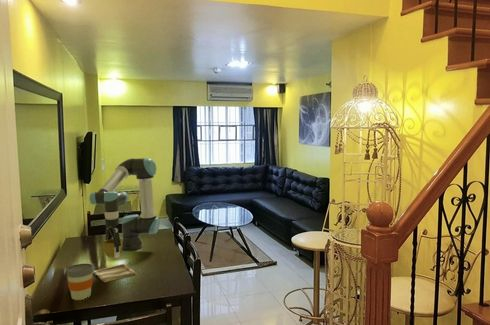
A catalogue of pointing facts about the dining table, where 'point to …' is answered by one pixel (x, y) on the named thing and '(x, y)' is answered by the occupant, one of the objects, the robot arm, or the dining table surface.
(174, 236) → the dining table surface
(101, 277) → the holder tray
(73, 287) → the reusable coffee cup
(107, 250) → the flower pot
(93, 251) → the dining table surface
